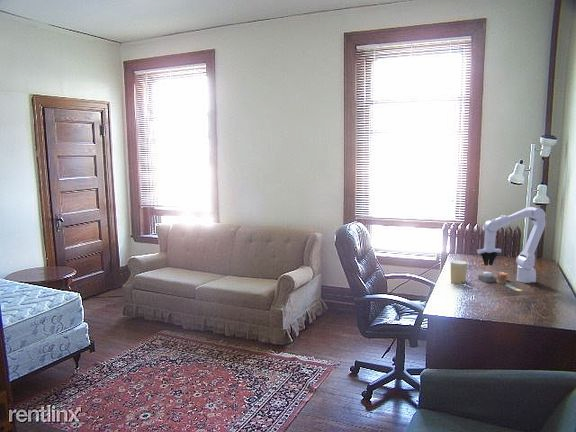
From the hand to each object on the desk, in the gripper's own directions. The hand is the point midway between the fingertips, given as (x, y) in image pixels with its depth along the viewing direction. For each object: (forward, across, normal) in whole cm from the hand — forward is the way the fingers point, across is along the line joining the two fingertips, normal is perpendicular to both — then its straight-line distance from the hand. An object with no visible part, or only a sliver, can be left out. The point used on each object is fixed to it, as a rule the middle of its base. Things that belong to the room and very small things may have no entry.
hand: (488, 265), depth 257 cm
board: (+10, -4, +9) cm, 14 cm away
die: (+9, -10, 0) cm, 14 cm away
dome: (+8, 0, 0) cm, 8 cm away
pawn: (+9, -4, +8) cm, 12 cm away
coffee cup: (+11, +16, -4) cm, 20 cm away
